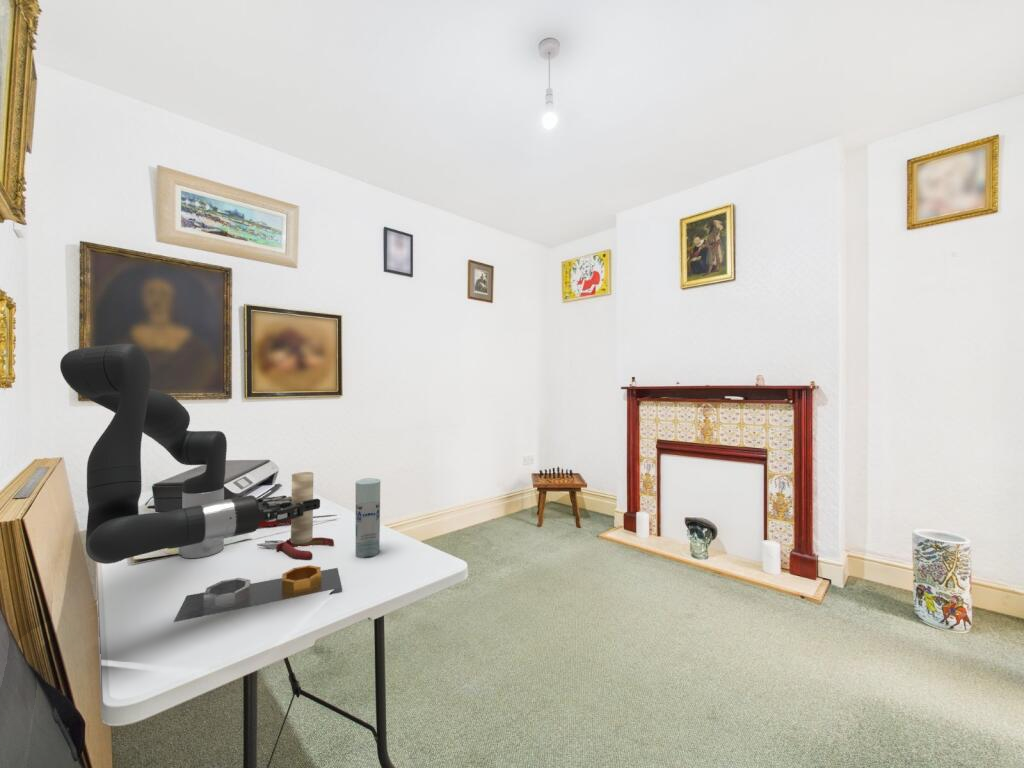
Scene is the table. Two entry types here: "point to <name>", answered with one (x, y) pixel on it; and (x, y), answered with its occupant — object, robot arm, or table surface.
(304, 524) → the peg
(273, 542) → the pliers
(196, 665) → the table surface
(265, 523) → the screwdriver
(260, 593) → the grey board
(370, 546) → the spray paint can
